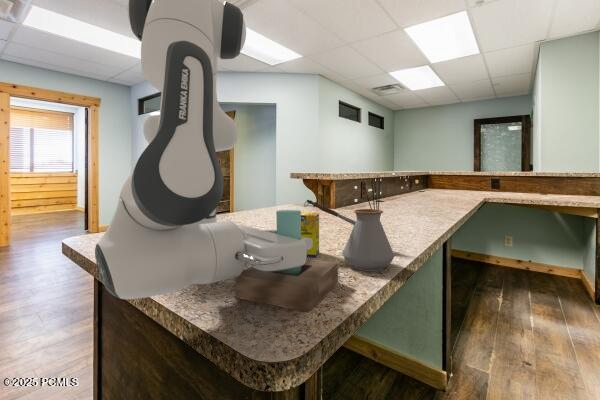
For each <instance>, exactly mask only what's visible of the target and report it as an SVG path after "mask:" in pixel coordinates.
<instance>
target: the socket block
mask: <svg viewBox="0 0 600 400" xmlns="http://www.w3.org/2000/svg"><path fill="white" fill-rule="evenodd" d="M338 283H339V262H338V261H337V262H336V261H327V260H318V259H311V258H307V260H306V263H305V264H304V265H303V266H301V274H300V275H299V276H293V275H286V274H280V273H277V271H261V270H258V269H256V268H253V267H251V266H249V267H248V268H246V269H243V271H242V273H241V274H240V275H239V276H238V277H234V290H235V292H234V293H235V294H234V295H235V299H241V300H247V301H251V302H255V303H256V302H257V303H262V304H266V305H272V306H277V307H280V308H281V307H283V308H285V309H286V308H287V309H290V310H291V309H292V310H297V311H300V312H301V311H302V312H308V313H311V312H312V311H313V310H314V308H315V307H316V306H317V305H318V304H319V303H321V302H322V300H323V299H324V298H325V297H326V296H327V295H328V294H329V293H330V292H331V291H332V290H333V289H334V288H335V286H336V285H337V284H338Z"/></svg>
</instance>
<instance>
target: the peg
mask: <svg viewBox="0 0 600 400" xmlns="http://www.w3.org/2000/svg"><path fill="white" fill-rule="evenodd" d="M301 212H302V211H301V210H298V209H281V210H276V212H275V213H276V214H275V215H276V217H275V218H276V219H275V220H276V230H277V234H279V235H283V236H287V237H291V238H294V239H298V240H299V238H301ZM277 273H280V274H286V275H293V276H299V275H300V274H301V266H300V267H295V268H290V269H284V270H279V271H277Z"/></svg>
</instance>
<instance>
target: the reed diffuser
mask: <svg viewBox="0 0 600 400" xmlns="http://www.w3.org/2000/svg"><path fill="white" fill-rule="evenodd" d="M361 183H362V186H363V189H364V192H365V196H366V199H367V202H368V205H369V207H370V208H369V209H375V210H380V194H381V193H380V192H381V191H380V190H381V188H380V187H381V179H380V178H379V179H378V200H377V185H376V178H375V177H374V178H373V179H371V191H372V192H371V193H372V202H373V203H372V205H373V208H372V205H371V203H370V199H369V196H368V192H367V190H366V187H365V184H364V181H363V180H361ZM373 183H374V184H373ZM375 205H376V206H375Z"/></svg>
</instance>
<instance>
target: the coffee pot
mask: <svg viewBox="0 0 600 400" xmlns="http://www.w3.org/2000/svg"><path fill="white" fill-rule="evenodd" d="M306 203H307V204H306ZM309 205H312V207H314V208H315V207H316V208H317V209H319V210H321V211H322V212H324V213H327V214H329V215H332V216H334V217H337V218H339V219H341V220H343V221H345V222H347V223H349V224H351V225H353V227H352V230H351V232H350V234H349V237H348V239H347V241H346V243H345V246H344V249H343V250H342V256H343V258H344V260H345V262H347V264H349V265H350V267H351V268H353V269H355V270H358V271H363V272H379V271H383V270H384V269H386V267H387V266H389V265H390V264H391V263H392V262H393V260H394V258H395V253H394V252H393V251H394V250H393V249H392V247H391V244H390V242H389V240H388V239H389V238H388V236H387V234H386V232H385V229H384V227H383V224H382V223H381V222H382V221H381V215H382V214H383V213H384V210H382V209H379V210H377V209H376V208H375V209H374V208H372V209H371V208H366V209H365V208H364V209H360V208H359V209H355V210H353V213H354V214H355V217H356V220H354V219H351V218H349V217H347V216H345V215H342V214H340V213H339V212H337V211H335V210H333V209H331V208H329V207H327V206H325V205H323V204H319V203H317V202H316V201H313V200H310V199H306V201H305V203H303V207H304V208H307V207H308V206H309Z"/></svg>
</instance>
